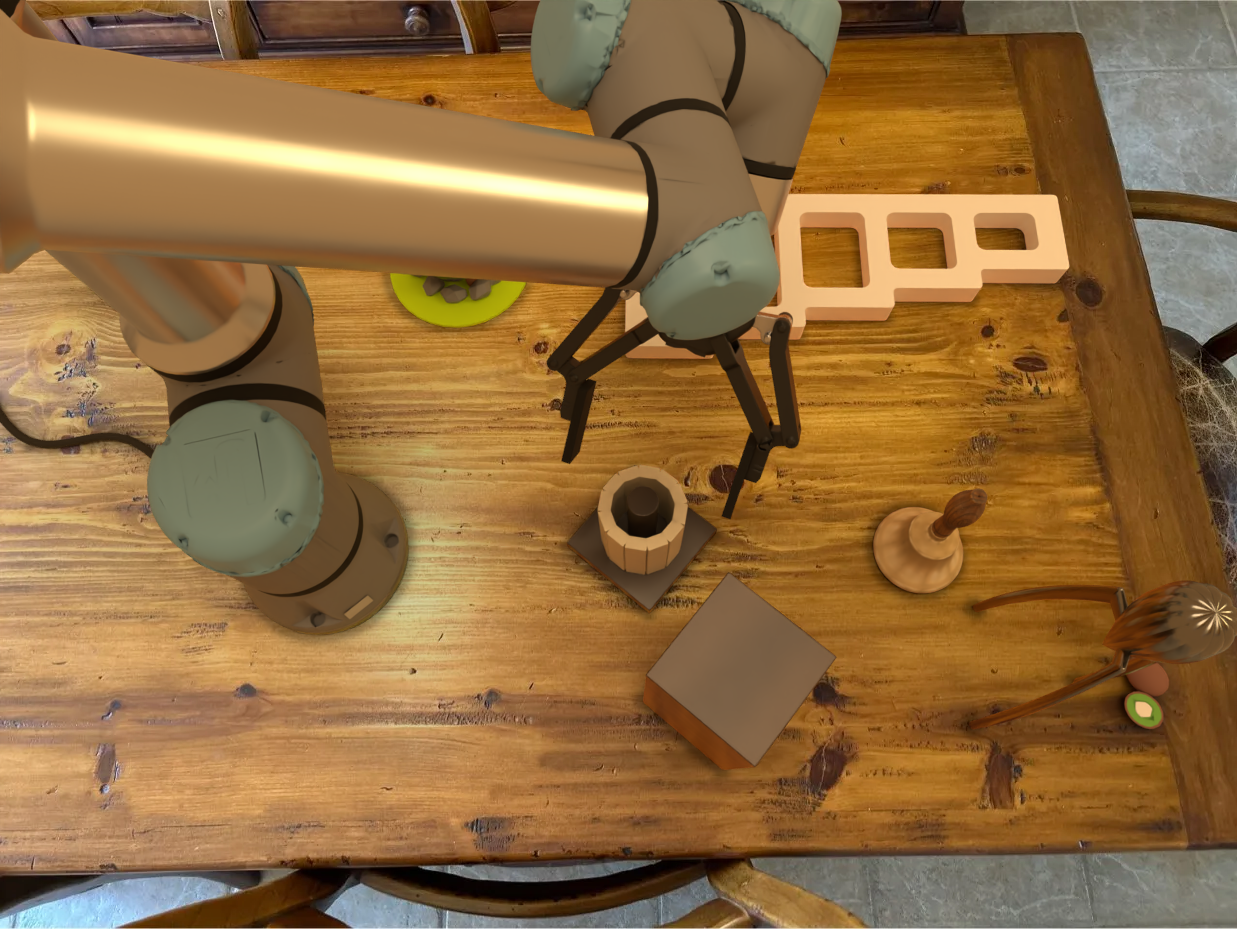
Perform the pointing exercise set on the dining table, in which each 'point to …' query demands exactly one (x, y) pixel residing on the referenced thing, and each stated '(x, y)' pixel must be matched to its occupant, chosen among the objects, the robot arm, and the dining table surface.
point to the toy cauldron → (454, 298)
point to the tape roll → (636, 550)
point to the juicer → (1135, 632)
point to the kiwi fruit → (1146, 695)
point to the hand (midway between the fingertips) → (648, 483)
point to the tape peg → (642, 524)
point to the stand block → (735, 676)
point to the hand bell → (926, 542)
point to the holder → (879, 276)
